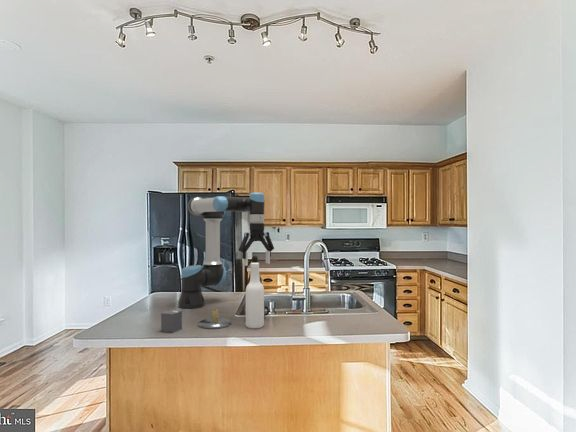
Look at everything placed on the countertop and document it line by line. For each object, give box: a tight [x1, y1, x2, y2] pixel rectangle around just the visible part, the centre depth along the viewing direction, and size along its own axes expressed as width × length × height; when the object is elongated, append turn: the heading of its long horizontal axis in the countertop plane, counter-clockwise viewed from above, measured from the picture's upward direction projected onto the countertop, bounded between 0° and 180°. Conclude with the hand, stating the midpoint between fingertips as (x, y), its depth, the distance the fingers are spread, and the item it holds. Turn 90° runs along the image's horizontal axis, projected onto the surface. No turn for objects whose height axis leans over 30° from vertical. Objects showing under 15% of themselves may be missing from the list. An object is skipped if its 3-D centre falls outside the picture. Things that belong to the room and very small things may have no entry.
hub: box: [197, 308, 233, 330], centre depth 178 cm, size 16×16×7 cm
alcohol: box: [245, 262, 265, 330], centre depth 175 cm, size 9×9×30 cm
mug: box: [264, 300, 270, 320], centre depth 187 cm, size 9×12×9 cm
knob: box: [160, 309, 183, 334], centre depth 169 cm, size 6×6×9 cm
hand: (256, 264), depth 188 cm, fingers open, 13 cm apart
